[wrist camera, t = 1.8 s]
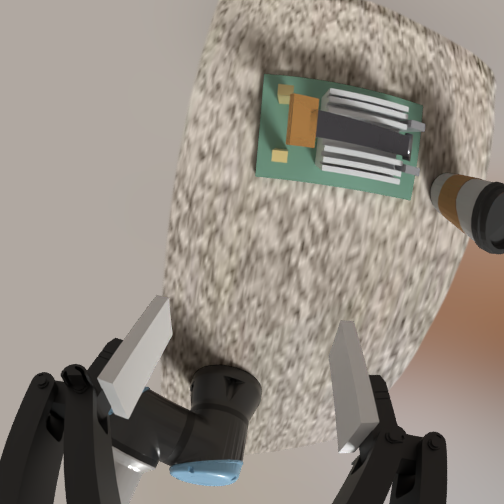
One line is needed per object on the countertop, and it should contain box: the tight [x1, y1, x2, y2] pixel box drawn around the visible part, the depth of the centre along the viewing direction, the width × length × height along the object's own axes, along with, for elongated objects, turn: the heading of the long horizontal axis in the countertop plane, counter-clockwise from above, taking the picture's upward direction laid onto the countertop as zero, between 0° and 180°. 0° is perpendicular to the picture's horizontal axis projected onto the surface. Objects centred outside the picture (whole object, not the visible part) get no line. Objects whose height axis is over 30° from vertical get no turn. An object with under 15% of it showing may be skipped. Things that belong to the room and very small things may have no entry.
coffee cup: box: [430, 173, 504, 254], centre depth 26 cm, size 8×8×15 cm
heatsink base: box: [255, 74, 425, 200], centre depth 29 cm, size 22×14×9 cm, turn 85°
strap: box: [286, 93, 413, 161], centre depth 23 cm, size 16×4×1 cm, turn 85°
